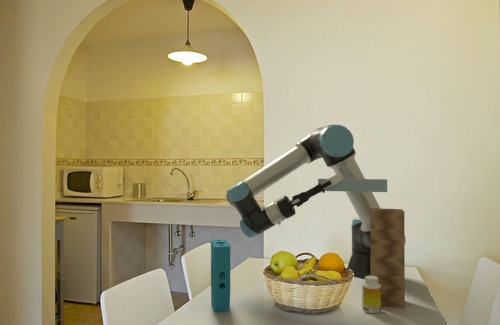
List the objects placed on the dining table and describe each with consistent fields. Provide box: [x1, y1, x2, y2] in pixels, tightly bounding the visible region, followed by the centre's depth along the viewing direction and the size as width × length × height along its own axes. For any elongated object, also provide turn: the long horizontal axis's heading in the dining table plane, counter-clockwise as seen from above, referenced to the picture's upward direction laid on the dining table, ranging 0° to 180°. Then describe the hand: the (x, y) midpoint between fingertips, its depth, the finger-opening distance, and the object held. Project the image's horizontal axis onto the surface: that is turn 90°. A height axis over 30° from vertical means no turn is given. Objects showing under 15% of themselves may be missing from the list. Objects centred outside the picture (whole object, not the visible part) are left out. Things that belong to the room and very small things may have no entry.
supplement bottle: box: [361, 276, 382, 314], centre depth 122 cm, size 6×6×10 cm
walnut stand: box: [371, 208, 406, 309], centre depth 130 cm, size 10×8×30 cm
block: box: [210, 239, 231, 313], centre depth 126 cm, size 12×5×20 cm, turn 11°
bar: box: [317, 178, 388, 193], centre depth 133 cm, size 22×4×4 cm, turn 74°
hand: (340, 176), depth 134 cm, fingers closed on bar, 4 cm apart
